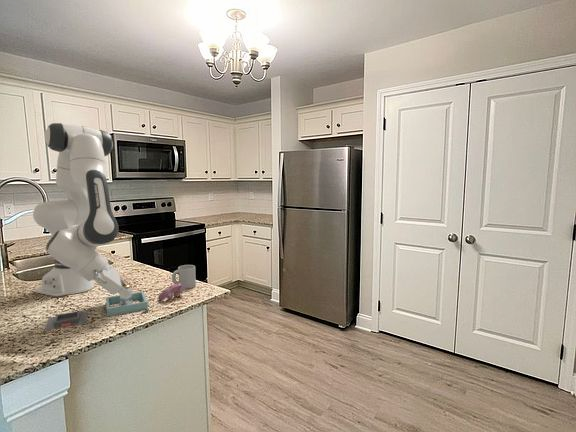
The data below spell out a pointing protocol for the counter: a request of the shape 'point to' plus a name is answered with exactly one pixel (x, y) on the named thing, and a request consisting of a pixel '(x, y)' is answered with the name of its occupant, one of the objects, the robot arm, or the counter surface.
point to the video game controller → (171, 291)
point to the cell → (124, 299)
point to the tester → (66, 320)
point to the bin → (127, 308)
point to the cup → (185, 276)
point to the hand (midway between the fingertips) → (127, 290)
